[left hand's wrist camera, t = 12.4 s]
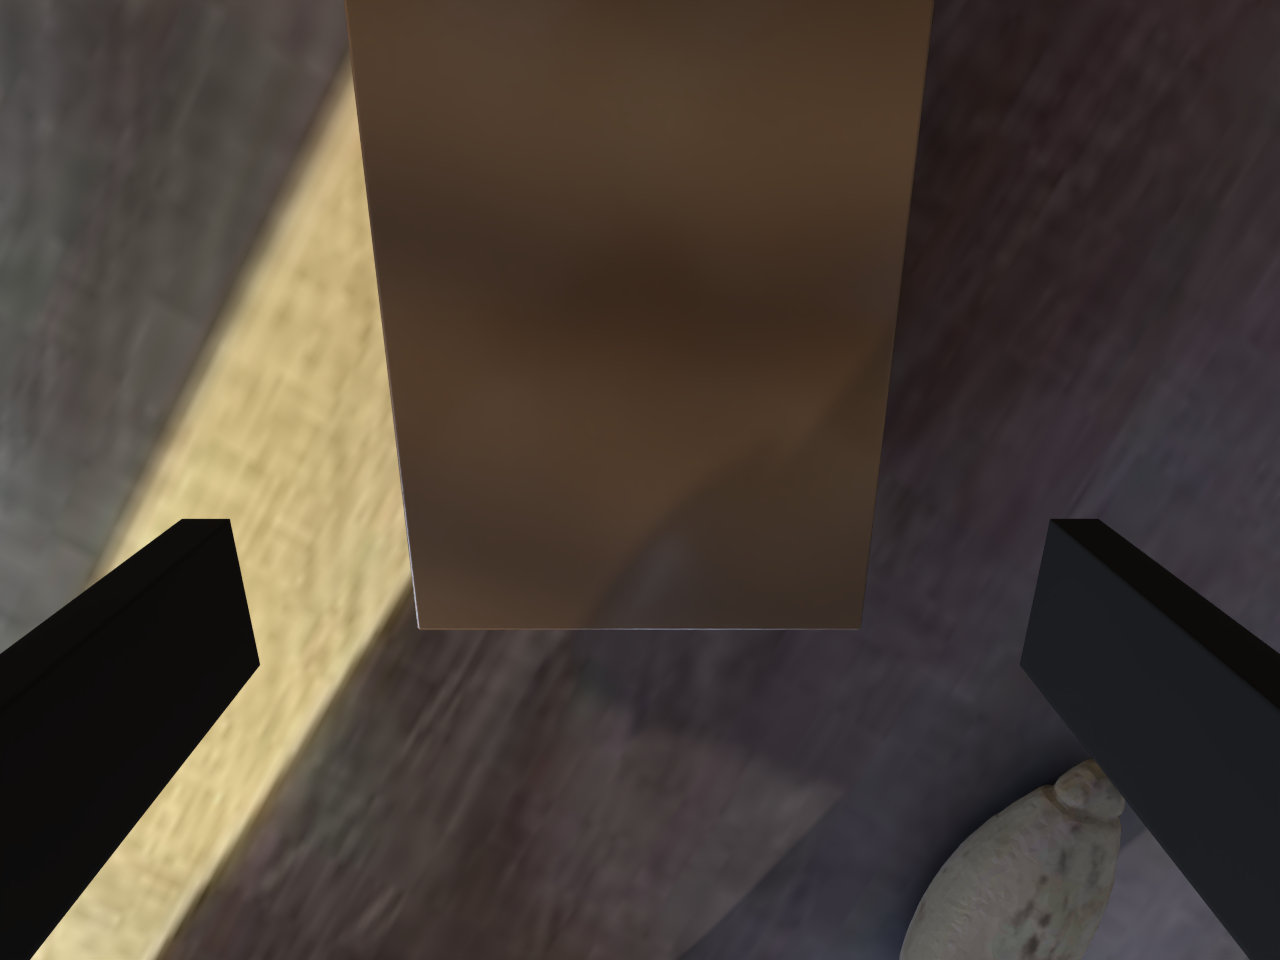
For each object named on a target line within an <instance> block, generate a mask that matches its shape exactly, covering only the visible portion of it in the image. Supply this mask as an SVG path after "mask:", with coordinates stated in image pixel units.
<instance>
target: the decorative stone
mask: <svg viewBox="0 0 1280 960" xmlns="http://www.w3.org/2000/svg"><path fill="white" fill-rule="evenodd" d="M1124 808H1125V799H1124V798H1123V796H1122V795H1121V794H1120V793H1119V791H1118V790H1117V789H1116V787H1115V786H1114V785H1113V784H1112V782H1111V781H1110V780H1109V778H1108V777H1107V776H1106V775H1105V773H1104V772H1103V771H1102V769H1101V768H1100V767H1099V766H1098V764H1097V763H1096V762H1095V760H1094V759H1093V758H1092V759H1088V760H1085V761H1083V762H1082V763H1080V764H1078V765H1077V766H1075V767H1073V768H1071V769H1070V770H1069V771H1067V772H1066V773H1065V774H1063V775H1062V776H1061V777H1059V779H1058V780H1057V782H1056V783H1055V784H1054V785H1044V786H1041V787H1039V788H1037V789H1035V790H1034V791H1032V792H1030V793H1029V794H1027V795H1025V796H1024V797H1022V798H1020V799H1019V800H1017V801H1015V802H1014V803H1012V804H1011V805H1009V806H1008V807H1007V808H1005V809H1004V810H1003V811H1001V812H999V813H997V814H996V815H994V816H993V817H992V818H990V819H989V820H988V821H986V822H985V823H984V824H983V825H982V826H980V827H979V828H978V829H977V830H976V831H974V832H973V833H972V834H971V835H970V836H969V837H968V838H967V839H966V840H965V841H964V842H963V843H961V845H960V846H959V847H958V848H957V849H956V850H955V851H954V853H953V854H952V855H951V856H950V857H949V859H948V860H947V861H946V862H945V863H944V865H943V866H942V867H941V869H940V870H939V872H938V873H937V875H936V876H935V877H934V879H933V880H932V882H931V883H930V885H929V887H928V889H927V890H926V892H925V893H924V895H923V897H922V899H921V901H920V902H919V905H918V907H917V909H916V912H915V914H914V916H913V919H912V921H911V923H910V925H909V928H908V930H907V933H906V936H905V939H904V942H903V946H902V949H901V952H900V958H899V960H1080V959H1081V958H1082V957H1083V954H1084V953H1085V951H1086V949H1087V947H1088V946H1089V944H1090V942H1091V940H1092V938H1093V936H1094V934H1095V932H1096V930H1097V928H1098V925H1099V923H1100V921H1101V919H1102V917H1103V914H1104V912H1105V909H1106V907H1107V903H1108V900H1109V896H1110V893H1111V890H1112V888H1113V884H1114V878H1115V871H1116V865H1117V858H1118V854H1119V849H1120V837H1121V823H1120V820H1119V818H1118V816H1119V815H1121V814H1122V812H1123V811H1124Z"/></svg>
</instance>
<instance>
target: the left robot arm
mask: <svg viewBox="0 0 1280 960" xmlns="http://www.w3.org/2000/svg"><path fill="white" fill-rule="evenodd" d="M259 666H260V662H259V657H258V653H257V648H256V643H255V638H254V633H253V629H252V624H251V619H250V614H249V609H248V604H247V600H246V595H245V590H244V585H243V580H242V576H241V571H240V566H239V561H238V556H237V552H236V547H235V542H234V537H233V532H232V528H231V523H230V519H181V520H180V521H178V522H177V523H176V524H174V525H173V526H172V527H170V528H169V529H168V530H166V531H165V532H164V533H162V534H161V535H160V536H158V537H157V538H156V539H154V540H153V541H152V542H150V543H149V544H148V545H146V546H145V547H143V548H142V549H141V550H139V551H138V552H137V553H135V554H134V555H133V556H131V557H130V558H129V559H127V560H126V561H125V562H123V563H122V564H121V565H119V566H118V567H117V568H115V569H114V570H113V571H111V572H110V573H109V574H107V575H106V576H104V577H103V578H102V579H100V580H99V581H98V582H96V583H95V584H94V585H92V586H91V587H90V588H88V589H87V590H86V591H84V592H83V593H82V594H80V595H79V596H78V597H76V598H75V599H74V600H72V601H71V602H70V603H68V604H67V605H66V606H64V607H63V608H61V609H60V610H59V611H57V612H56V613H55V614H53V615H52V616H51V617H49V618H48V619H47V620H45V621H44V622H43V623H41V624H40V625H39V626H37V627H36V628H35V629H33V630H32V631H31V632H29V633H28V634H27V635H25V636H24V637H23V638H21V639H20V640H18V641H17V642H16V643H14V644H13V645H12V646H10V647H9V648H8V649H6V650H5V651H4V652H2V653H1V654H0V960H30V959H31V958H32V957H33V955H34V954H35V953H36V951H37V950H38V949H39V948H40V946H41V945H42V944H43V942H44V941H45V940H46V939H47V937H48V936H49V935H50V933H51V932H52V931H53V930H54V928H55V927H56V926H57V925H58V923H59V922H60V921H61V919H62V918H63V917H64V916H65V914H66V913H67V912H68V910H69V909H70V908H71V907H72V905H73V904H74V903H75V901H76V900H77V899H78V898H79V896H80V895H81V894H82V892H83V891H84V890H85V889H86V887H87V886H88V885H89V883H90V882H91V881H92V880H93V878H94V877H95V876H96V875H97V873H98V872H99V871H100V869H101V868H102V867H103V866H104V864H105V863H106V862H107V860H108V859H109V858H110V857H111V855H112V854H113V853H114V851H115V850H116V849H117V848H118V846H119V845H120V844H121V842H122V841H123V840H124V839H125V837H126V836H127V835H128V834H129V832H130V831H131V830H132V828H133V827H134V826H135V825H136V823H137V822H138V821H139V819H140V818H141V817H142V816H143V814H144V813H145V812H146V810H147V809H148V808H149V807H150V805H151V804H152V803H153V801H154V800H155V799H156V798H157V796H158V795H159V794H160V793H161V791H162V790H163V789H164V787H165V786H166V785H167V784H168V782H169V781H170V780H171V778H172V777H173V776H174V775H175V773H176V772H177V771H178V769H179V768H180V767H181V766H182V764H183V763H184V762H185V760H186V759H187V758H188V757H189V755H190V754H191V753H192V751H193V750H194V749H195V748H196V746H197V745H198V744H199V743H200V741H201V740H202V739H203V737H204V736H205V735H206V734H207V732H208V731H209V730H210V728H211V727H212V726H213V725H214V723H215V722H216V721H217V719H218V718H219V717H220V716H221V714H222V713H223V712H224V710H225V709H226V708H227V707H228V705H229V704H230V703H231V702H232V700H233V699H234V698H235V696H236V695H237V694H238V693H239V691H240V690H241V689H242V687H243V686H244V685H245V684H246V682H247V681H248V680H249V678H250V677H251V676H252V675H253V673H254V672H255V671H256V669H257V668H258V667H259ZM1020 666H1021V667H1022V668H1023V669H1024V671H1025V672H1026V673H1027V675H1028V676H1029V677H1030V678H1031V680H1032V681H1033V682H1034V684H1035V685H1036V686H1037V687H1038V689H1039V690H1040V691H1041V693H1042V694H1043V695H1044V696H1045V698H1046V699H1047V700H1048V702H1049V703H1050V704H1051V705H1052V707H1053V708H1054V709H1055V710H1056V712H1057V713H1058V714H1059V716H1060V717H1061V718H1062V719H1063V721H1064V722H1065V723H1066V725H1067V726H1068V727H1069V728H1070V730H1071V731H1072V732H1073V734H1074V735H1075V736H1076V737H1077V739H1078V740H1079V741H1080V743H1081V744H1082V745H1083V746H1084V748H1085V749H1086V750H1087V751H1088V753H1089V754H1090V755H1091V757H1092V758H1093V759H1094V760H1095V762H1096V763H1097V764H1098V766H1099V767H1100V768H1101V769H1102V771H1103V772H1104V773H1105V775H1106V776H1107V777H1108V778H1109V780H1110V781H1111V782H1112V784H1113V785H1114V786H1115V787H1116V789H1117V790H1118V791H1119V793H1120V794H1121V795H1122V796H1123V798H1124V799H1125V800H1126V801H1127V803H1128V804H1129V805H1130V807H1131V808H1132V809H1133V810H1134V812H1135V813H1136V814H1137V816H1138V817H1139V818H1140V819H1141V821H1142V822H1143V823H1144V825H1145V826H1146V827H1147V828H1148V830H1149V831H1150V832H1151V834H1152V835H1153V836H1154V837H1155V839H1156V840H1157V841H1158V842H1159V844H1160V845H1161V846H1162V848H1163V849H1164V850H1165V851H1166V853H1167V854H1168V855H1169V857H1170V858H1171V859H1172V860H1173V862H1174V863H1175V864H1176V866H1177V867H1178V868H1179V869H1180V871H1181V872H1182V873H1183V875H1184V876H1185V877H1186V878H1187V880H1188V881H1189V882H1190V883H1191V885H1192V886H1193V887H1194V889H1195V890H1196V891H1197V892H1198V894H1199V895H1200V896H1201V898H1202V899H1203V900H1204V901H1205V903H1206V904H1207V905H1208V907H1209V908H1210V909H1211V910H1212V912H1213V913H1214V914H1215V916H1216V917H1217V918H1218V919H1219V921H1220V922H1221V923H1222V925H1223V926H1224V927H1225V928H1226V930H1227V931H1228V932H1229V933H1230V935H1231V936H1232V937H1233V939H1234V940H1235V941H1236V942H1237V944H1238V945H1239V946H1240V948H1241V949H1242V950H1243V951H1244V953H1245V954H1246V955H1247V957H1248V958H1249V959H1250V960H1280V654H1279V653H1278V652H1276V651H1275V650H1274V649H1272V648H1271V647H1270V646H1268V645H1267V644H1266V643H1264V642H1263V641H1262V640H1260V639H1259V638H1257V637H1256V636H1255V635H1253V634H1252V633H1251V632H1249V631H1248V630H1247V629H1245V628H1244V627H1243V626H1241V625H1240V624H1239V623H1237V622H1236V621H1235V620H1233V619H1232V618H1231V617H1229V616H1228V615H1227V614H1225V613H1224V612H1223V611H1221V610H1220V609H1219V608H1217V607H1216V606H1214V605H1213V604H1212V603H1210V602H1209V601H1208V600H1206V599H1205V598H1204V597H1202V596H1201V595H1200V594H1198V593H1197V592H1196V591H1194V590H1193V589H1192V588H1190V587H1189V586H1188V585H1186V584H1185V583H1184V582H1182V581H1181V580H1180V579H1178V578H1177V577H1175V576H1174V575H1173V574H1171V573H1170V572H1169V571H1167V570H1166V569H1165V568H1163V567H1162V566H1161V565H1159V564H1158V563H1157V562H1155V561H1154V560H1153V559H1151V558H1150V557H1149V556H1147V555H1146V554H1145V553H1143V552H1142V551H1141V550H1139V549H1138V548H1137V547H1135V546H1134V545H1132V544H1131V543H1130V542H1128V541H1127V540H1126V539H1124V538H1123V537H1122V536H1120V535H1119V534H1118V533H1116V532H1115V531H1114V530H1112V529H1111V528H1110V527H1108V526H1107V525H1106V524H1104V523H1103V522H1102V521H1100V520H1099V519H1050V523H1049V528H1048V532H1047V537H1046V542H1045V547H1044V552H1043V556H1042V561H1041V566H1040V571H1039V576H1038V580H1037V585H1036V590H1035V595H1034V600H1033V604H1032V609H1031V614H1030V619H1029V624H1028V629H1027V633H1026V638H1025V643H1024V648H1023V653H1022V657H1021V662H1020Z"/></svg>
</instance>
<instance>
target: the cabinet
mask: <svg viewBox="0 0 1280 960" xmlns="http://www.w3.org/2000/svg"><path fill="white" fill-rule="evenodd" d="M934 4H935V0H344V5H345V14H346V22H347V31H348V39H349V48H350V56H351V65H352V73H353V82H354V90H355V99H356V107H357V116H358V124H359V133H360V141H361V150H362V158H363V167H364V175H365V184H366V192H367V201H368V209H369V217H370V226H371V234H372V243H373V251H374V260H375V268H376V277H377V285H378V294H379V302H380V311H381V319H382V328H383V336H384V345H385V353H386V362H387V370H388V379H389V387H390V396H391V404H392V413H393V421H394V430H395V438H396V447H397V455H398V464H399V472H400V480H401V489H402V497H403V506H404V514H405V523H406V531H407V540H408V548H409V557H410V565H411V574H412V582H413V591H414V599H415V608H416V616H417V625H418V628H419V629H420V630H859V629H860V627H861V620H862V612H863V603H864V595H865V586H866V578H867V569H868V561H869V552H870V544H871V536H872V527H873V519H874V510H875V502H876V493H877V485H878V476H879V468H880V460H881V451H882V443H883V434H884V426H885V417H886V409H887V401H888V392H889V384H890V375H891V367H892V358H893V350H894V341H895V333H896V325H897V316H898V308H899V299H900V291H901V282H902V274H903V265H904V257H905V249H906V240H907V232H908V223H909V215H910V206H911V198H912V189H913V181H914V173H915V164H916V156H917V147H918V139H919V130H920V122H921V114H922V105H923V97H924V88H925V80H926V71H927V63H928V54H929V46H930V38H931V29H932V21H933V12H934Z"/></svg>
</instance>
